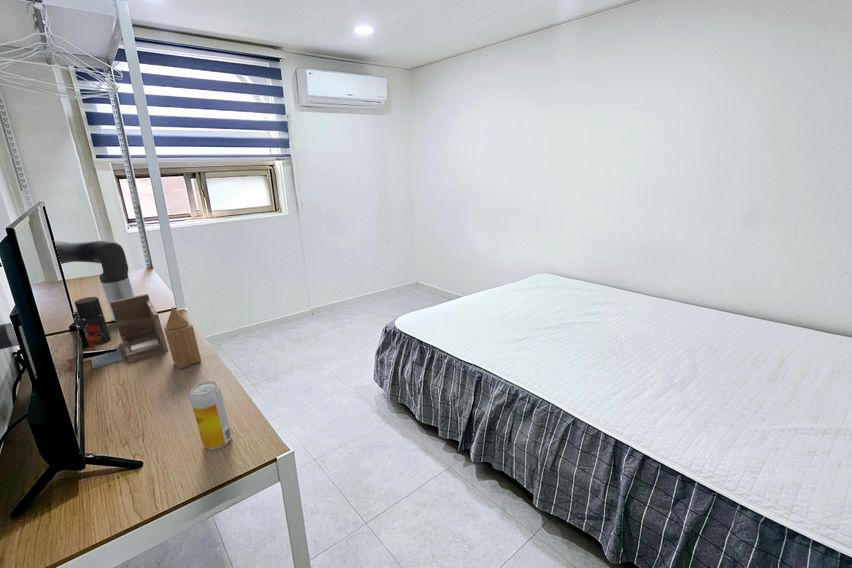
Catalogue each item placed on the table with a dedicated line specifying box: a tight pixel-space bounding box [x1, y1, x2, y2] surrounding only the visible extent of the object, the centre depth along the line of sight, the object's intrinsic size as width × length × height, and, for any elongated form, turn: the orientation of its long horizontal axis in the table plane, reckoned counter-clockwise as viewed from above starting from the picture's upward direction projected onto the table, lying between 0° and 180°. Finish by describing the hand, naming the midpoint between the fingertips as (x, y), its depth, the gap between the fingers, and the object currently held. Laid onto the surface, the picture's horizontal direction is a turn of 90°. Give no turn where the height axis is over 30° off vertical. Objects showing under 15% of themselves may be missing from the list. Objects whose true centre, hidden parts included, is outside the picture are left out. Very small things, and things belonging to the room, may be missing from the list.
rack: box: [110, 293, 169, 363], centre depth 139 cm, size 20×11×16 cm, turn 41°
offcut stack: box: [130, 338, 160, 353], centre depth 137 cm, size 4×8×3 cm, turn 131°
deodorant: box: [74, 296, 112, 347], centre depth 128 cm, size 6×6×15 cm
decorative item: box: [164, 306, 202, 370], centre depth 126 cm, size 7×7×20 cm
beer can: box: [189, 380, 232, 451], centre depth 90 cm, size 6×6×15 cm
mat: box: [90, 349, 124, 370], centre depth 133 cm, size 9×8×1 cm
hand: (101, 315), depth 129 cm, fingers closed on deodorant, 6 cm apart
